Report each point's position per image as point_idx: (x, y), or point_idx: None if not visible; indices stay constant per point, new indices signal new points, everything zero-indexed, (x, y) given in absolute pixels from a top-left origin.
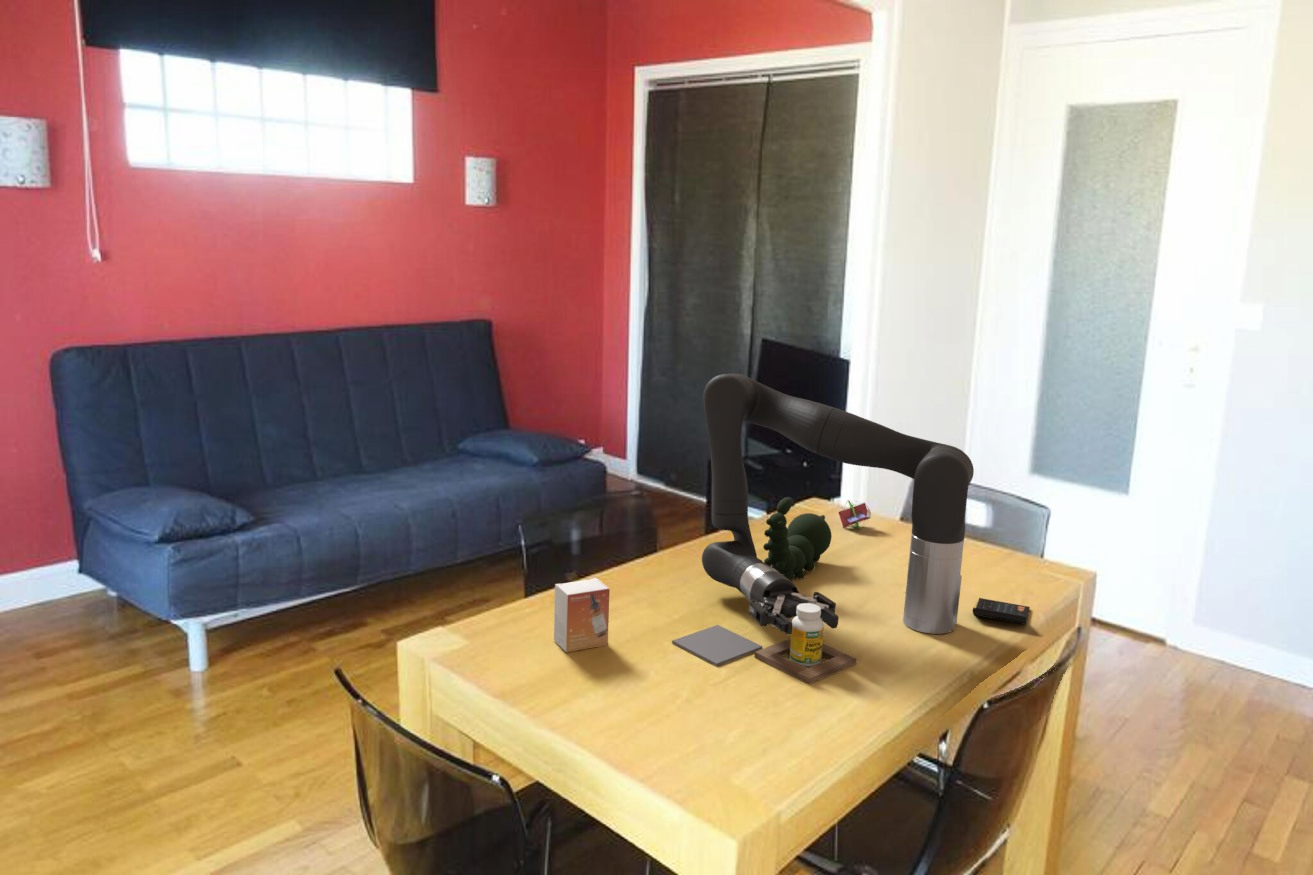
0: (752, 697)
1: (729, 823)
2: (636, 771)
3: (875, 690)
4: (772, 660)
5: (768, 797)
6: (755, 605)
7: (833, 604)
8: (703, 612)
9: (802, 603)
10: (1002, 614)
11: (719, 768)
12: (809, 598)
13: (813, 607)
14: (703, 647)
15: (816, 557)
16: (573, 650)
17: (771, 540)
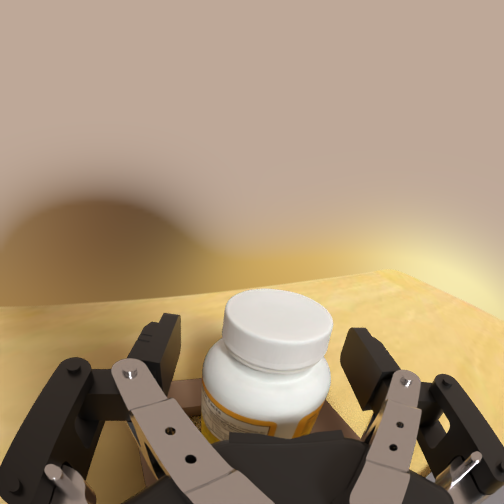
0: (395, 360)
1: (397, 272)
2: (462, 302)
3: (185, 329)
4: (356, 435)
5: (376, 276)
6: (487, 429)
7: (82, 361)
8: None
9: (291, 342)
10: None
11: (412, 294)
12: (161, 435)
13: (258, 307)
14: (497, 492)
15: None
16: None
17: None
